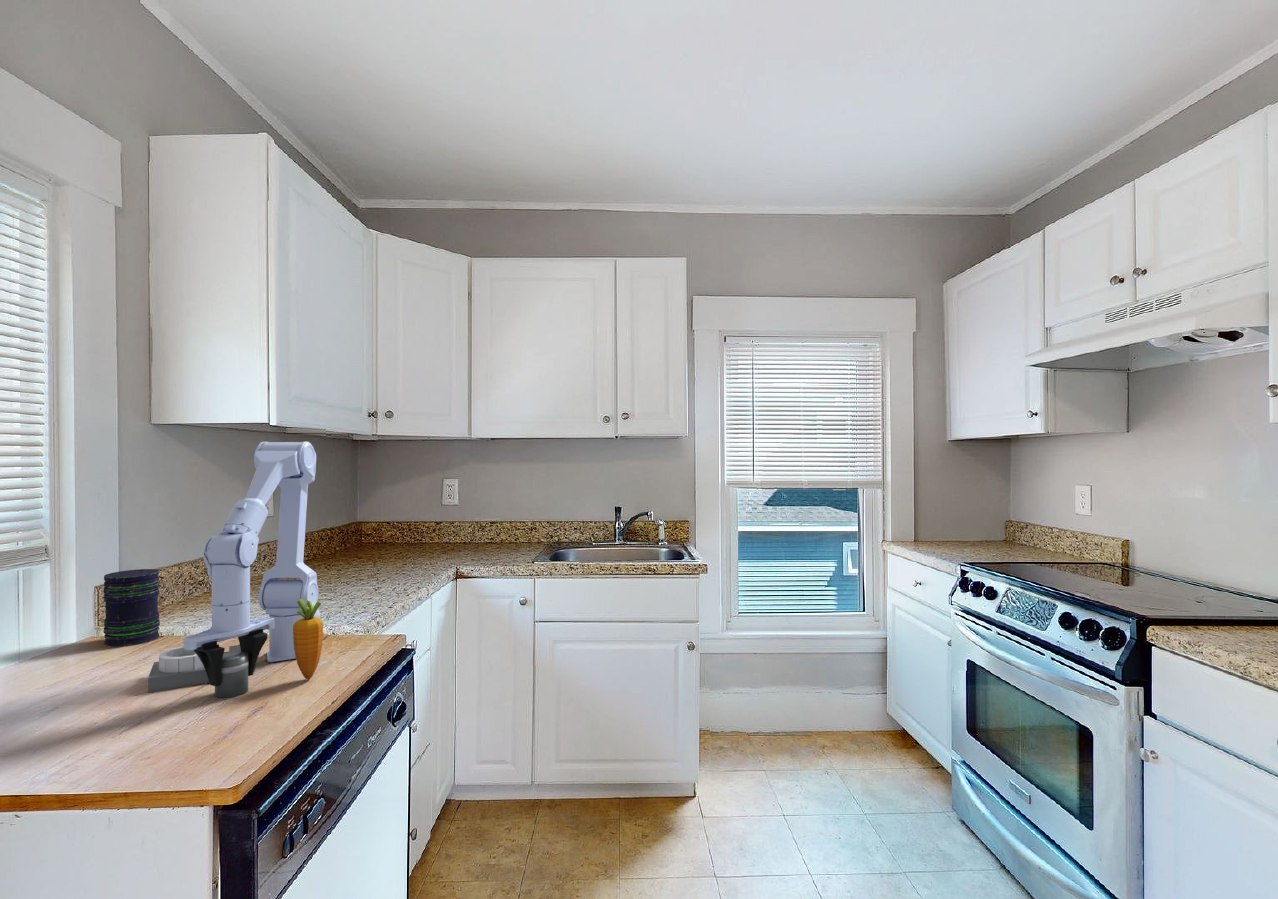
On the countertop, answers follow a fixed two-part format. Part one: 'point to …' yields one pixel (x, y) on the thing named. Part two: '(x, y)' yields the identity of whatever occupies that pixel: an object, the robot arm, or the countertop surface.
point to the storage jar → (131, 607)
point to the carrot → (308, 638)
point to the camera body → (179, 669)
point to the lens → (233, 675)
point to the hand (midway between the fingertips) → (231, 679)
